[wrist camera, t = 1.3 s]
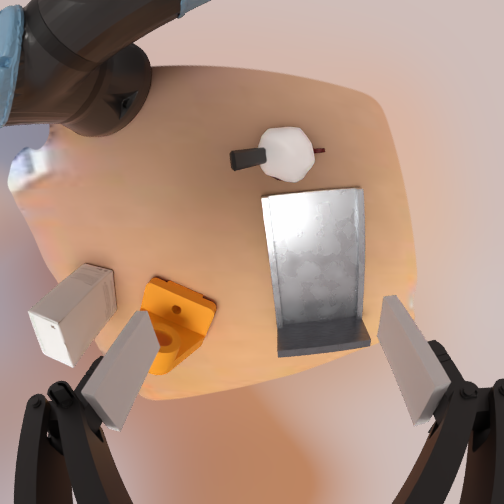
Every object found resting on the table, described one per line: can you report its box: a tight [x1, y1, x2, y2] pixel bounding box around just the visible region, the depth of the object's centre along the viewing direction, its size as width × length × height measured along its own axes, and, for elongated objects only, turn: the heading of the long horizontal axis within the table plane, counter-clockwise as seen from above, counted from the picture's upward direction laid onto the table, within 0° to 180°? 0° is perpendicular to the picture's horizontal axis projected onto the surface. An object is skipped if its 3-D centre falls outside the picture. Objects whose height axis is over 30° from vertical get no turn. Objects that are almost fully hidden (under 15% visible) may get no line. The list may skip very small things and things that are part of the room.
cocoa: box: [230, 127, 325, 183], centre depth 27 cm, size 10×6×12 cm, turn 75°
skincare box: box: [28, 263, 117, 368], centre depth 34 cm, size 8×7×16 cm
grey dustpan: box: [261, 187, 371, 357], centre depth 34 cm, size 20×13×7 cm, turn 8°
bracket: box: [140, 278, 216, 375], centre depth 36 cm, size 11×7×12 cm, turn 67°
